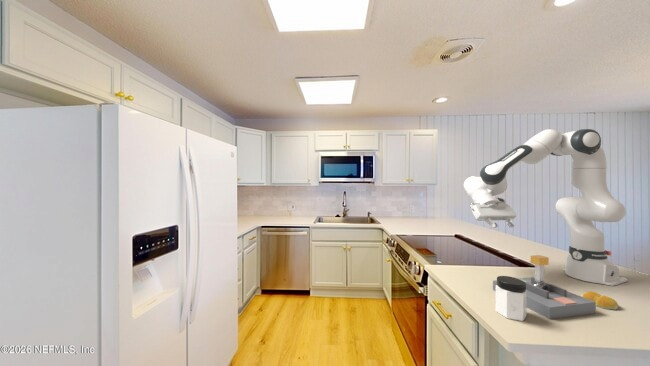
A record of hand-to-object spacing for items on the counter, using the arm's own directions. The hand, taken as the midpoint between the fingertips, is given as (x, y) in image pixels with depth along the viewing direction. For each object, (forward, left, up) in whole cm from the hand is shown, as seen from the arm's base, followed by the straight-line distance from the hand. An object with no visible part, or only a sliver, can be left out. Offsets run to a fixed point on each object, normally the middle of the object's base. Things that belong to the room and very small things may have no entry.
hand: (504, 226), depth 108 cm
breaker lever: (0, +15, -22) cm, 27 cm away
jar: (+20, +21, -26) cm, 39 cm away
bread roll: (-20, +21, -27) cm, 39 cm away
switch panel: (0, +15, -26) cm, 30 cm away
